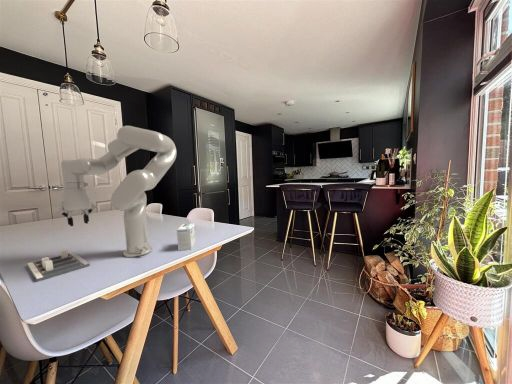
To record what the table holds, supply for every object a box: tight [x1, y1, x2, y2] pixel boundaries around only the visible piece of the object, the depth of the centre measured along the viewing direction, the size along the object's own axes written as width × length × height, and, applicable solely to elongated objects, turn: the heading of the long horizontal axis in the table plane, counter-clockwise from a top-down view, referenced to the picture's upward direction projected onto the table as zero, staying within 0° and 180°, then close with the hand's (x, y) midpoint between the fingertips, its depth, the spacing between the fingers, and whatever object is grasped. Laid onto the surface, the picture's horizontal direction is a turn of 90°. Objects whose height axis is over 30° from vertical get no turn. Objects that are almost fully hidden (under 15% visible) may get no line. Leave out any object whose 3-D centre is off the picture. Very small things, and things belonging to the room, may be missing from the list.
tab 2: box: [44, 260, 53, 271], centre depth 85 cm, size 2×2×4 cm
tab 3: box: [59, 248, 69, 258], centre depth 98 cm, size 2×2×4 cm
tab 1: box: [40, 256, 50, 267], centre depth 89 cm, size 2×2×4 cm
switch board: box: [26, 251, 90, 282], centre depth 92 cm, size 24×16×2 cm, turn 53°
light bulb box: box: [176, 223, 196, 251], centre depth 110 cm, size 11×7×11 cm, turn 5°
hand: (79, 224), depth 102 cm, fingers open, 4 cm apart
